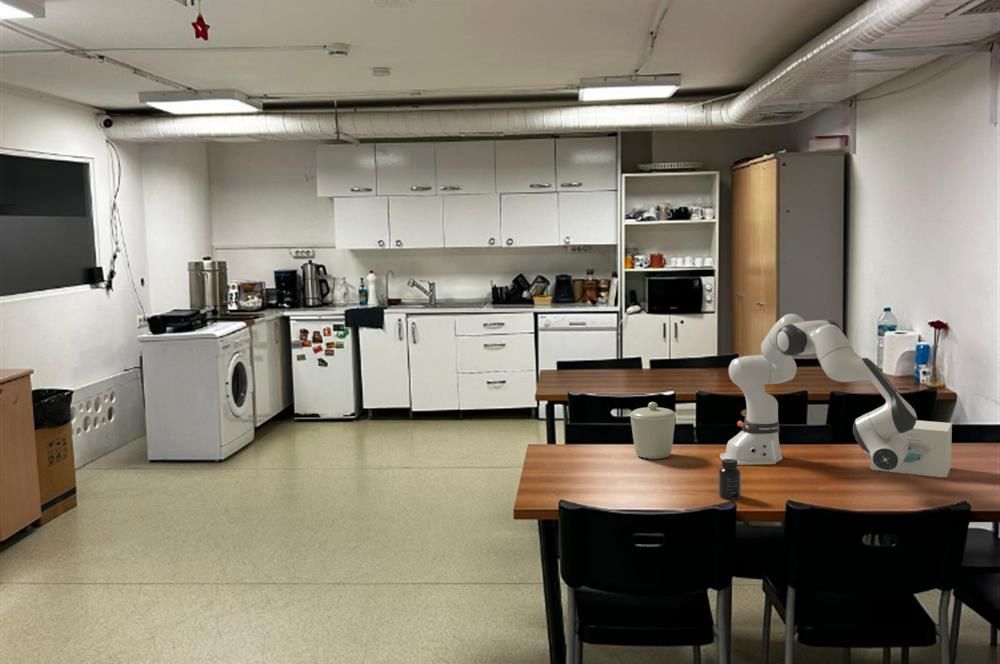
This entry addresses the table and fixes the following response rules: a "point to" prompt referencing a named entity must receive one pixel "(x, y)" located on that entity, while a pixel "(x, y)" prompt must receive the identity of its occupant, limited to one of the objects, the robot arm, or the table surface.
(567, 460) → the table surface
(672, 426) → the canister
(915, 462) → the knob mount
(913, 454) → the knob
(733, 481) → the supplement bottle
